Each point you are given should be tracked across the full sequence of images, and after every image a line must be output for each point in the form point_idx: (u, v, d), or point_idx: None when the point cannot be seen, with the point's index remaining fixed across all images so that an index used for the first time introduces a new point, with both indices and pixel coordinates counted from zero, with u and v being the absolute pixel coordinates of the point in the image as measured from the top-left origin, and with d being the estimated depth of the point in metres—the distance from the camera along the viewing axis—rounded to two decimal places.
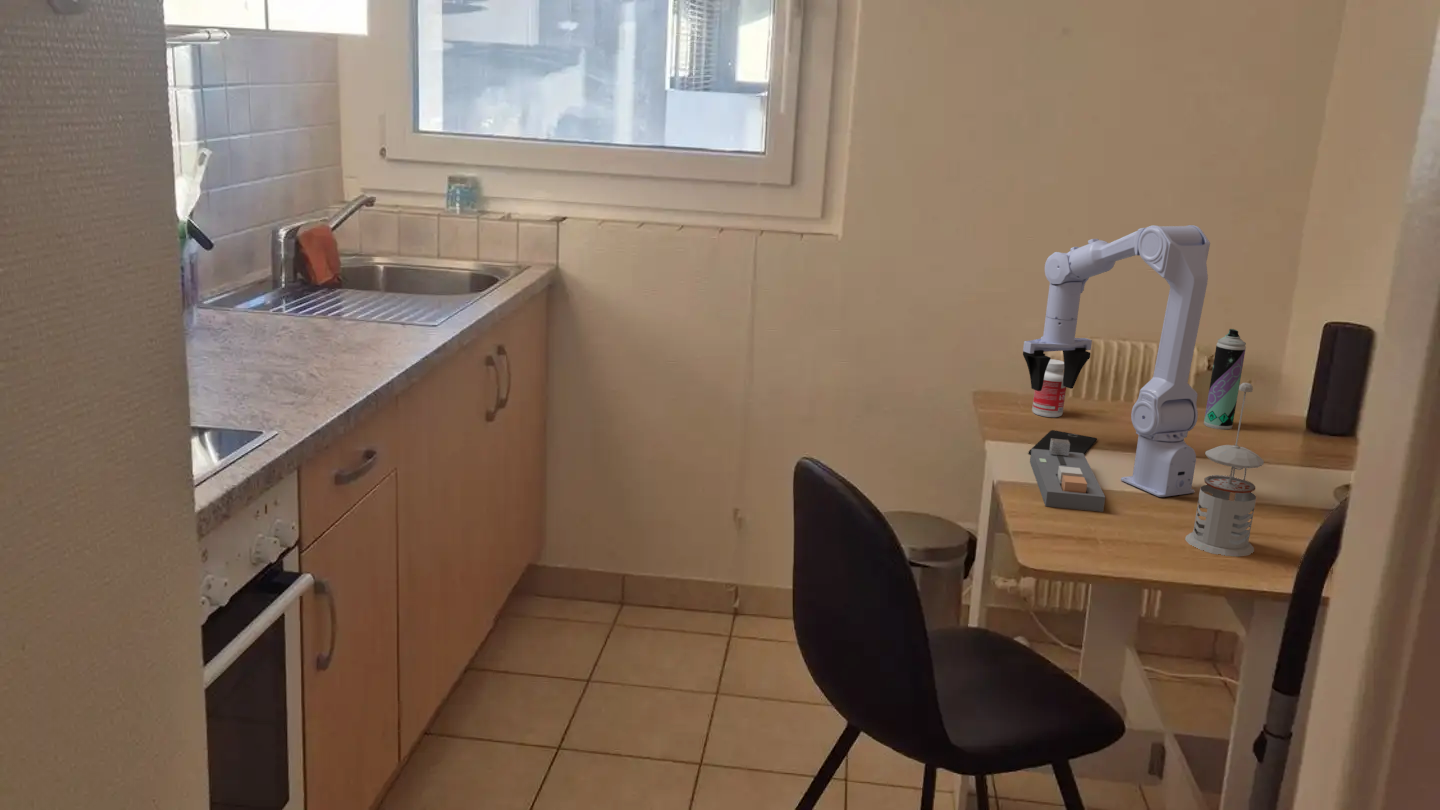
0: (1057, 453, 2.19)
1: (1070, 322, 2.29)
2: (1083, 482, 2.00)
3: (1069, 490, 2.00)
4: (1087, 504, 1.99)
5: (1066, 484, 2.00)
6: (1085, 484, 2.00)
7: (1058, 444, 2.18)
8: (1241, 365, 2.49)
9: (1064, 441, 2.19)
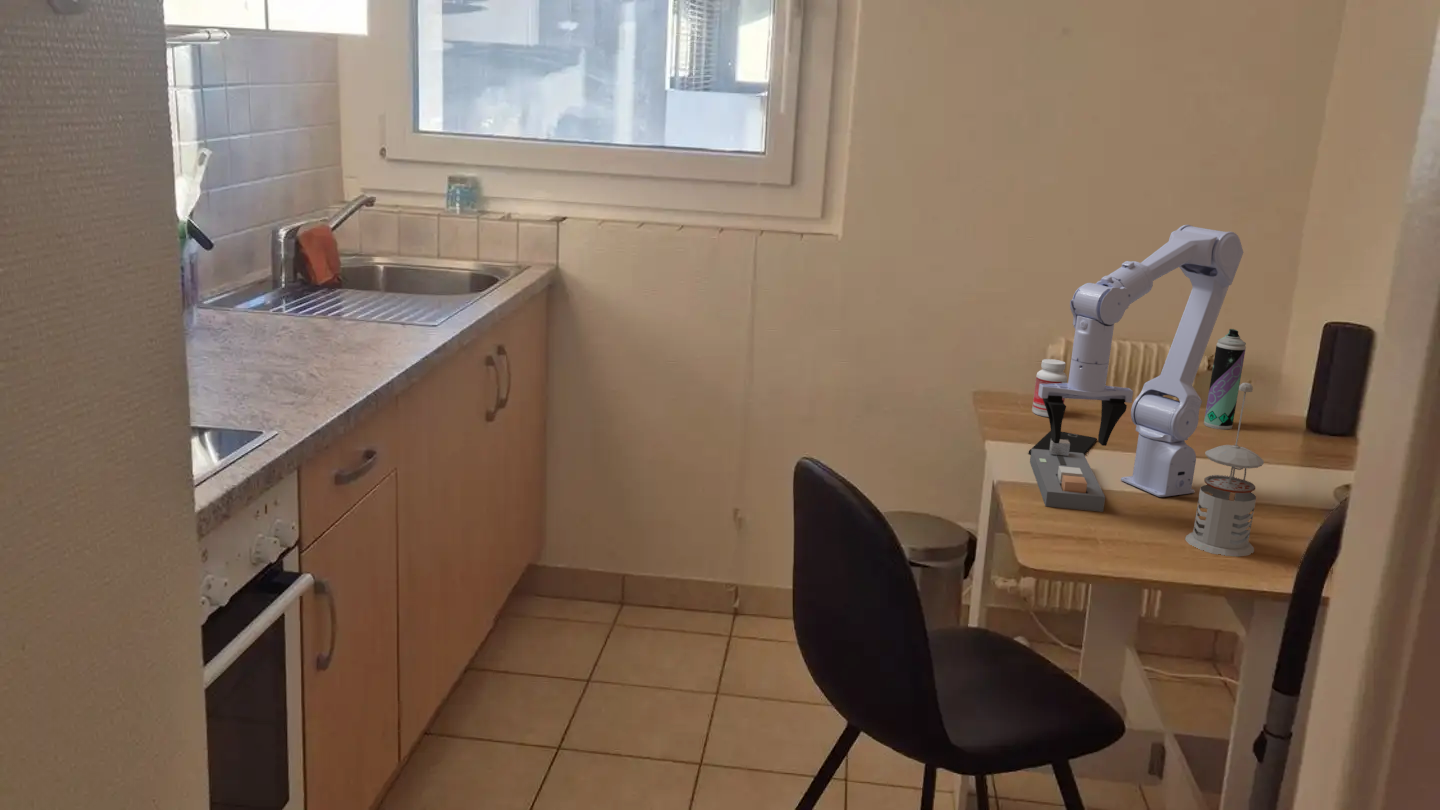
0: (1057, 453, 2.19)
1: (1093, 366, 1.94)
2: (1083, 482, 2.00)
3: (1069, 490, 2.00)
4: (1087, 504, 1.99)
5: (1066, 484, 2.00)
6: (1085, 484, 2.00)
7: (1058, 444, 2.18)
8: (1241, 365, 2.49)
9: (1064, 441, 2.19)
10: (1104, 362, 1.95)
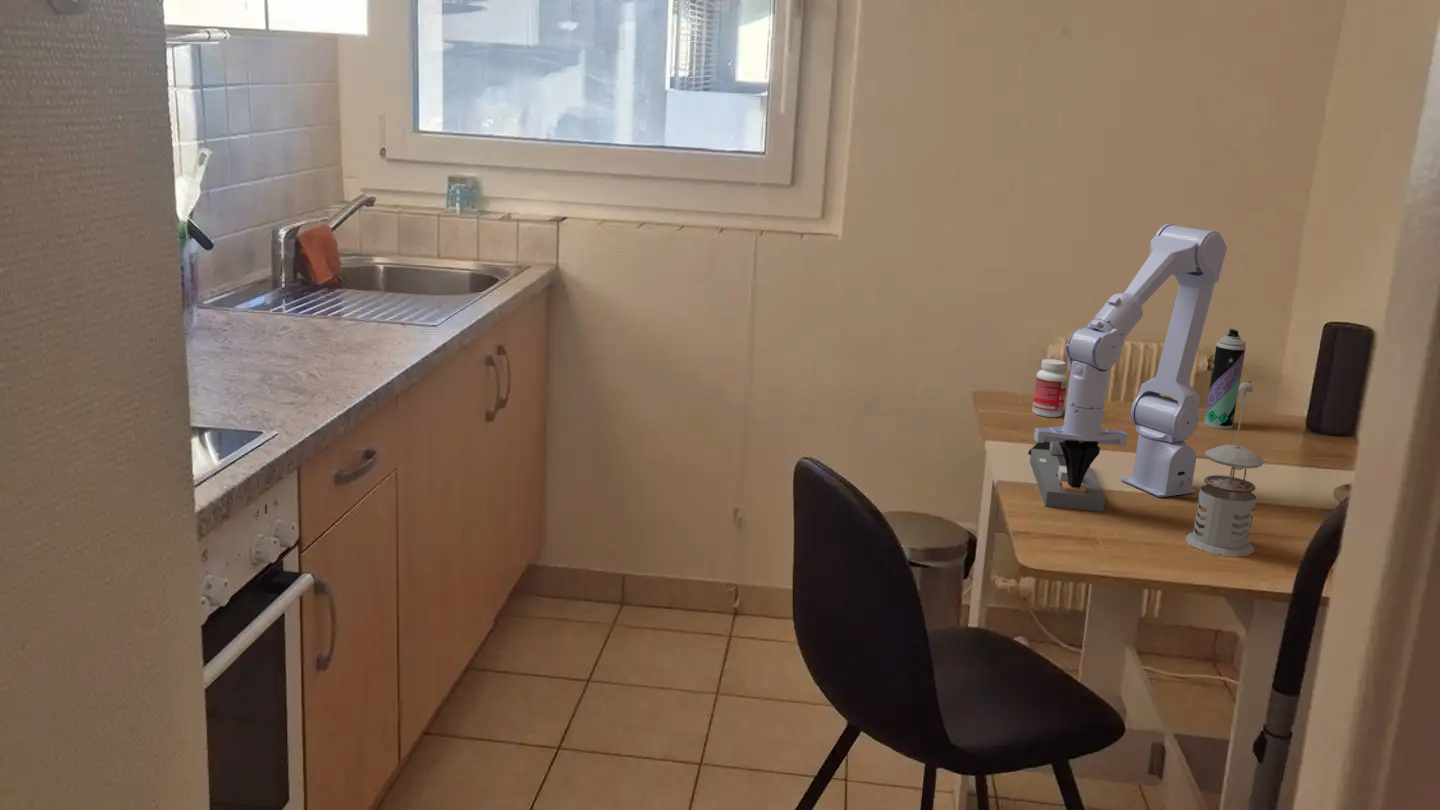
0: (1057, 453, 2.19)
1: (1089, 411, 1.95)
2: (1083, 488, 2.00)
3: None
4: (1087, 504, 1.99)
5: (1065, 490, 2.00)
6: (1084, 490, 2.00)
7: (1058, 444, 2.18)
8: (1241, 365, 2.49)
9: None
10: (1099, 407, 1.96)
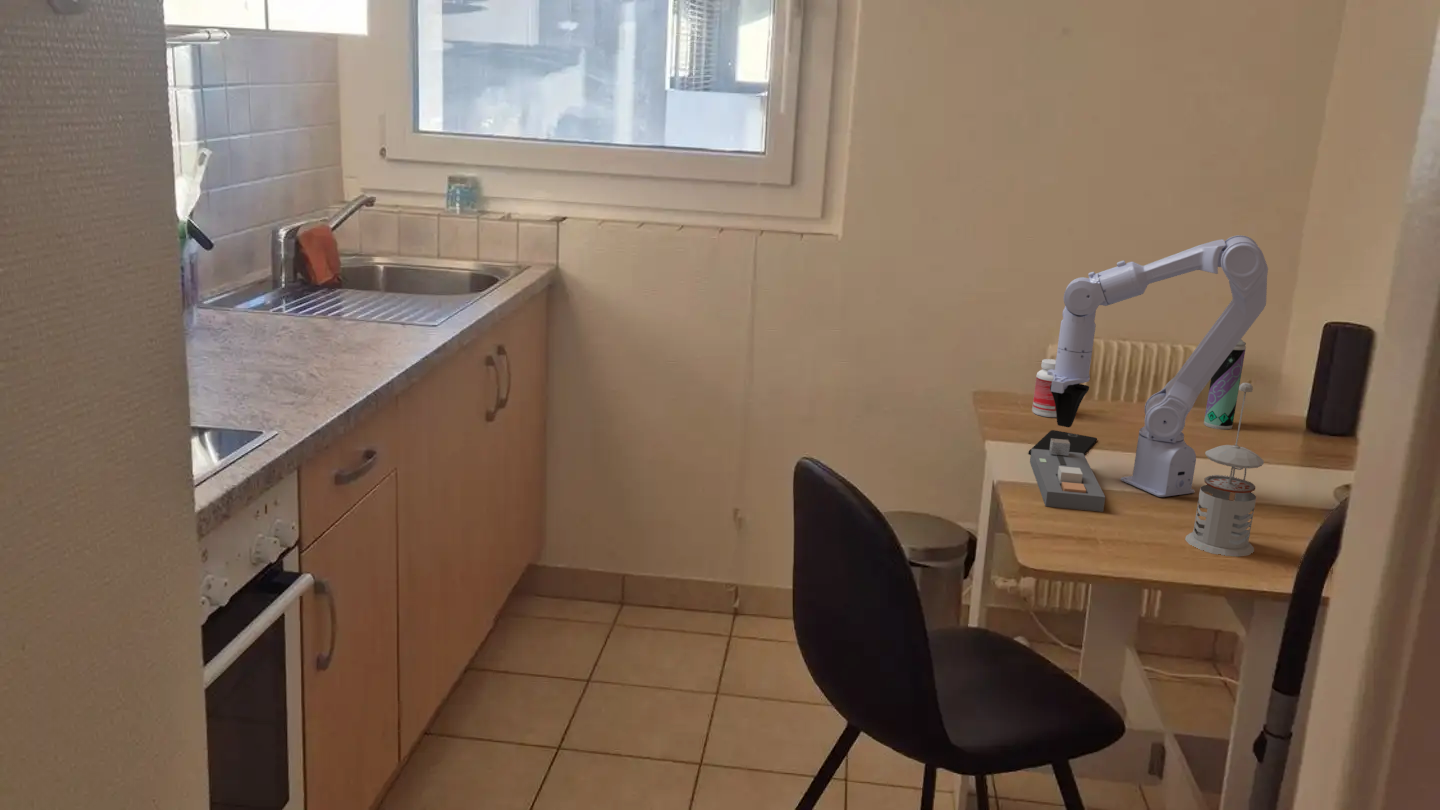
0: (1057, 453, 2.19)
1: (1090, 354, 2.11)
2: (1083, 489, 2.00)
3: None
4: (1087, 504, 1.99)
5: None
6: (1084, 491, 2.00)
7: (1058, 444, 2.18)
8: (1241, 365, 2.49)
9: (1064, 441, 2.19)
10: (1074, 350, 2.10)
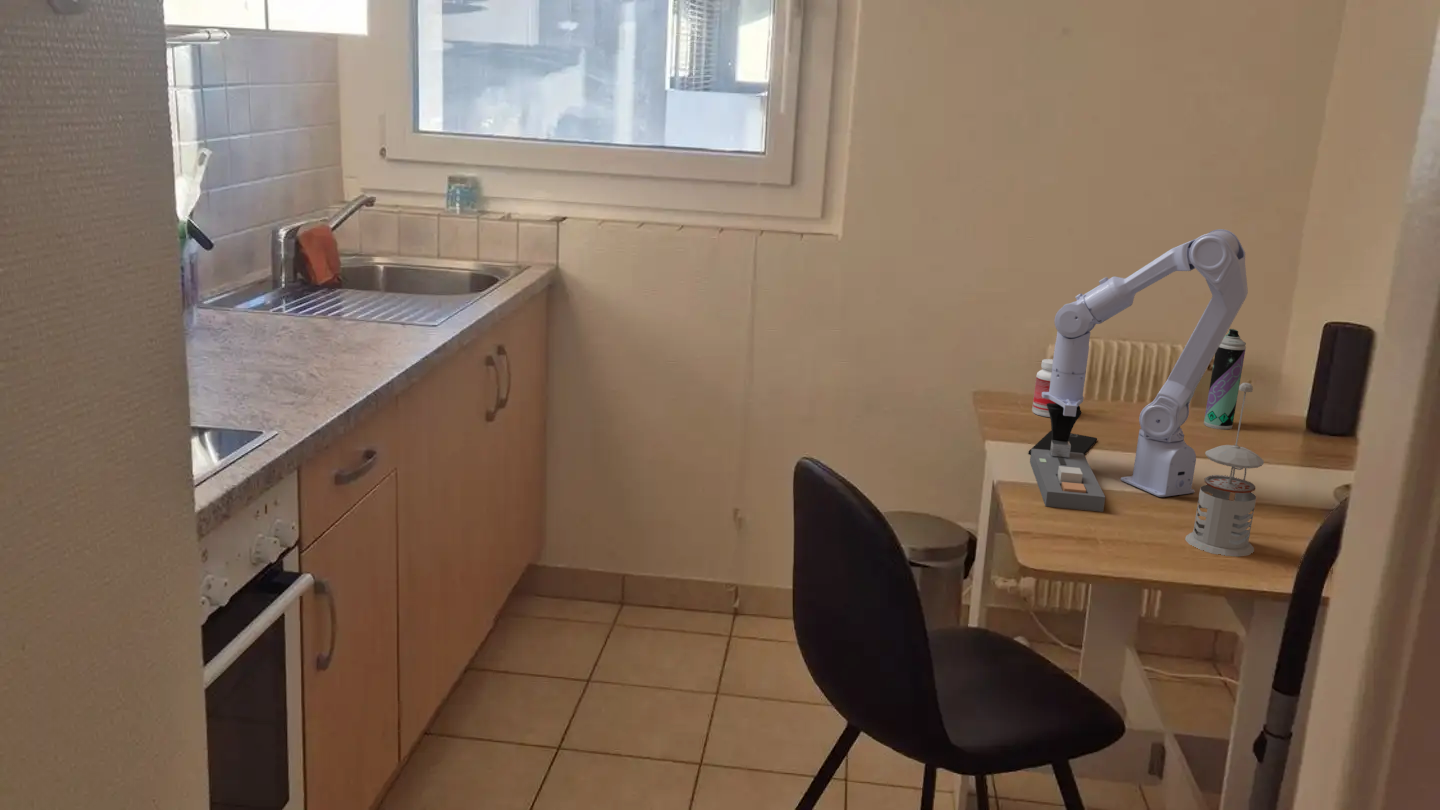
0: (1058, 455, 2.18)
1: (1085, 374, 2.17)
2: (1083, 489, 2.00)
3: None
4: (1087, 504, 1.99)
5: None
6: (1084, 491, 2.00)
7: (1058, 445, 2.17)
8: (1241, 365, 2.49)
9: (1065, 443, 2.18)
10: (1064, 371, 2.15)
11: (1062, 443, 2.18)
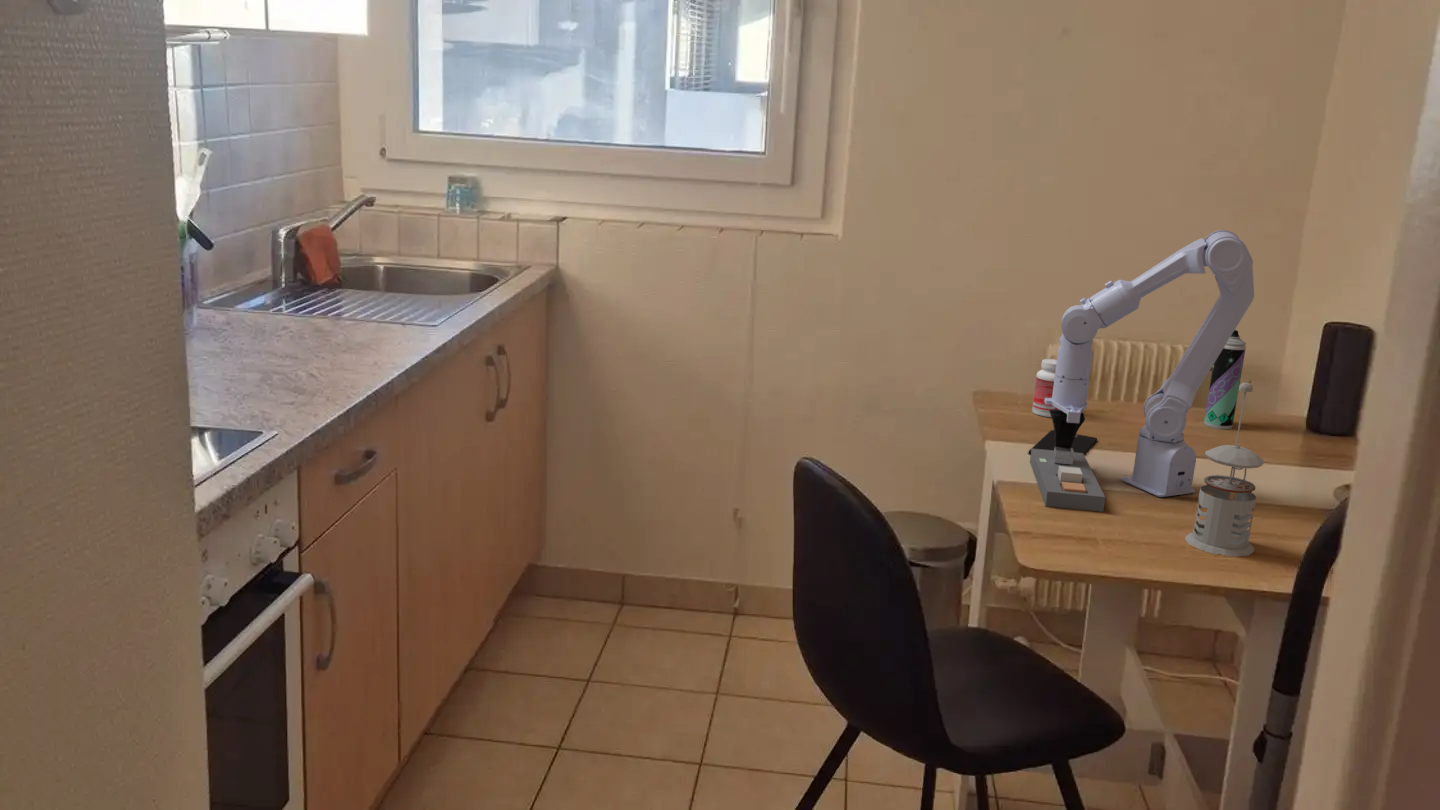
0: (1061, 462, 2.14)
1: None
2: (1083, 489, 2.00)
3: None
4: (1087, 504, 1.99)
5: None
6: (1084, 491, 2.00)
7: (1061, 452, 2.13)
8: (1241, 365, 2.49)
9: (1068, 449, 2.14)
10: (1072, 378, 2.10)
11: (1065, 450, 2.14)
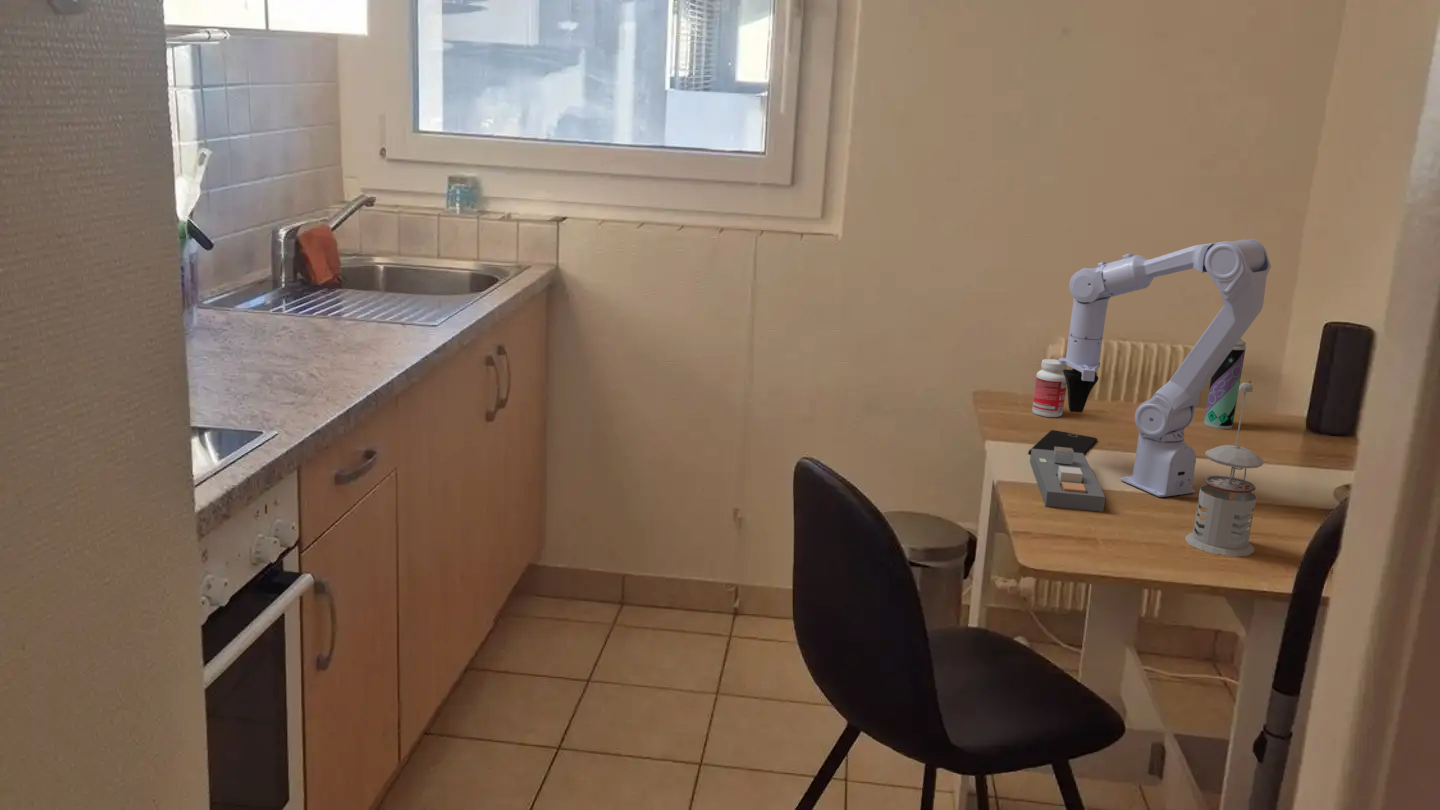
0: (1061, 462, 2.14)
1: None
2: (1083, 489, 2.00)
3: None
4: (1087, 504, 1.99)
5: None
6: (1084, 491, 2.00)
7: (1061, 452, 2.13)
8: (1241, 365, 2.49)
9: (1068, 449, 2.14)
10: (1077, 336, 2.16)
11: (1065, 450, 2.14)
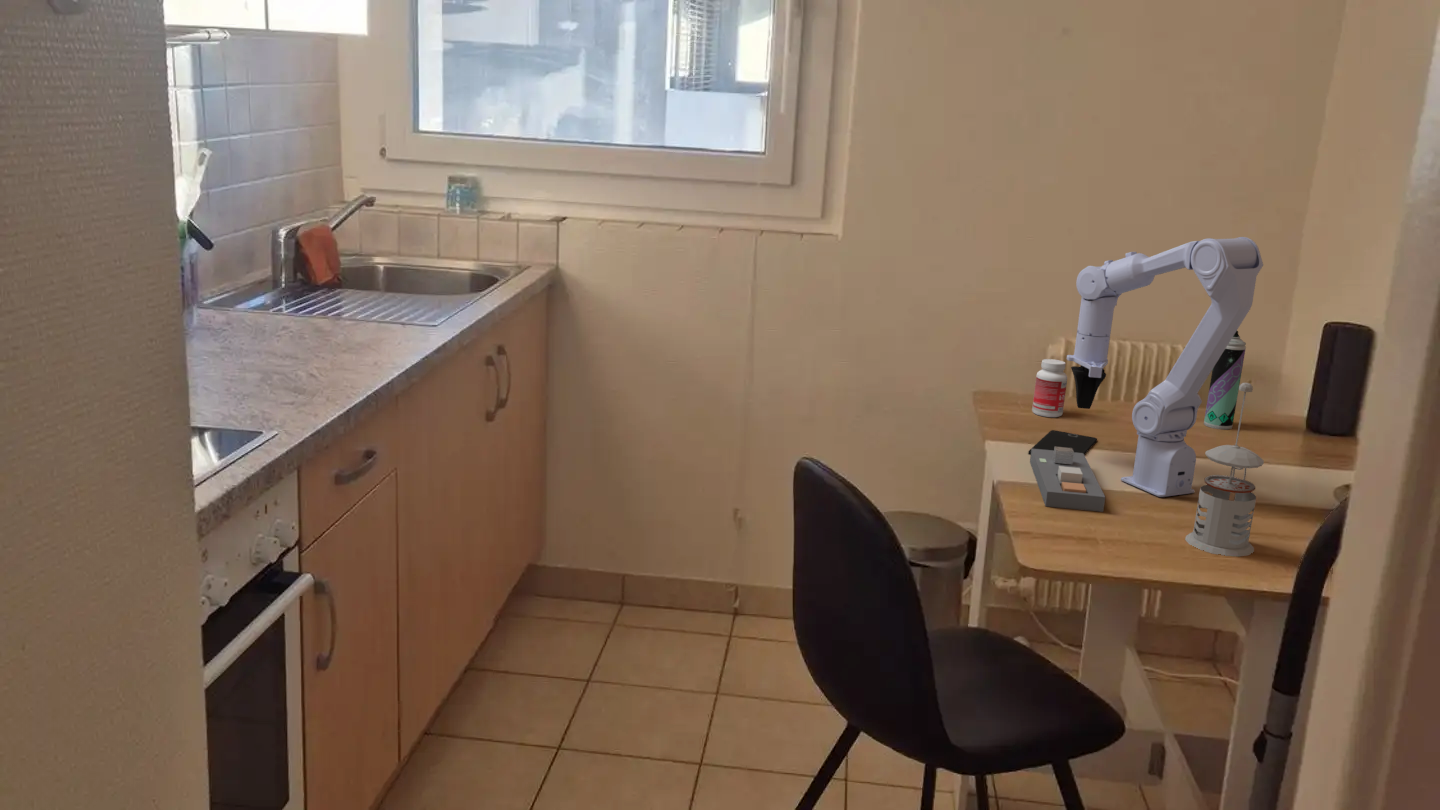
0: (1061, 462, 2.14)
1: None
2: (1083, 489, 2.00)
3: None
4: (1087, 504, 1.99)
5: None
6: (1084, 491, 2.00)
7: (1061, 452, 2.13)
8: (1241, 365, 2.49)
9: (1068, 449, 2.14)
10: (1082, 333, 2.20)
11: (1065, 450, 2.14)
